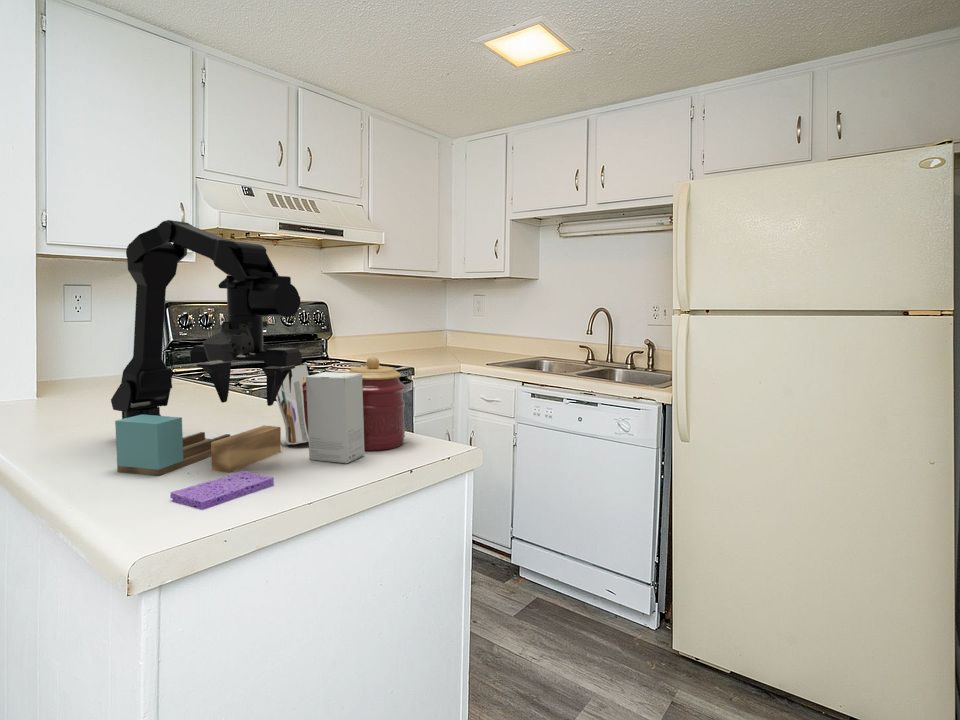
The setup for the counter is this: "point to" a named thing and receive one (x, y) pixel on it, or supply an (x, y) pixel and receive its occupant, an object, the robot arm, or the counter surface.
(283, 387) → the silver tall cylinder
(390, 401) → the canister
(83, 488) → the counter surface
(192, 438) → the board
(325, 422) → the skincare box
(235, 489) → the sponges
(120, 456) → the end cap
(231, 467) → the wooden block
